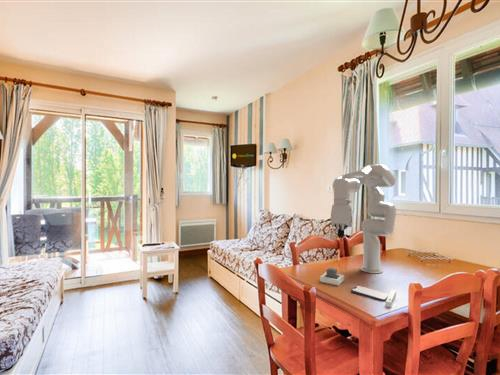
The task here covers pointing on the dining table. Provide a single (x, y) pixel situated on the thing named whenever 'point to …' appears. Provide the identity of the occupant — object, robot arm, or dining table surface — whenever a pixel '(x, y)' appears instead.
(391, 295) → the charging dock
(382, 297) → the phone case
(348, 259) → the dining table surface
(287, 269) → the dining table surface
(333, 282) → the white square shallow tray
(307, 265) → the dining table surface
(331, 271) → the plug
